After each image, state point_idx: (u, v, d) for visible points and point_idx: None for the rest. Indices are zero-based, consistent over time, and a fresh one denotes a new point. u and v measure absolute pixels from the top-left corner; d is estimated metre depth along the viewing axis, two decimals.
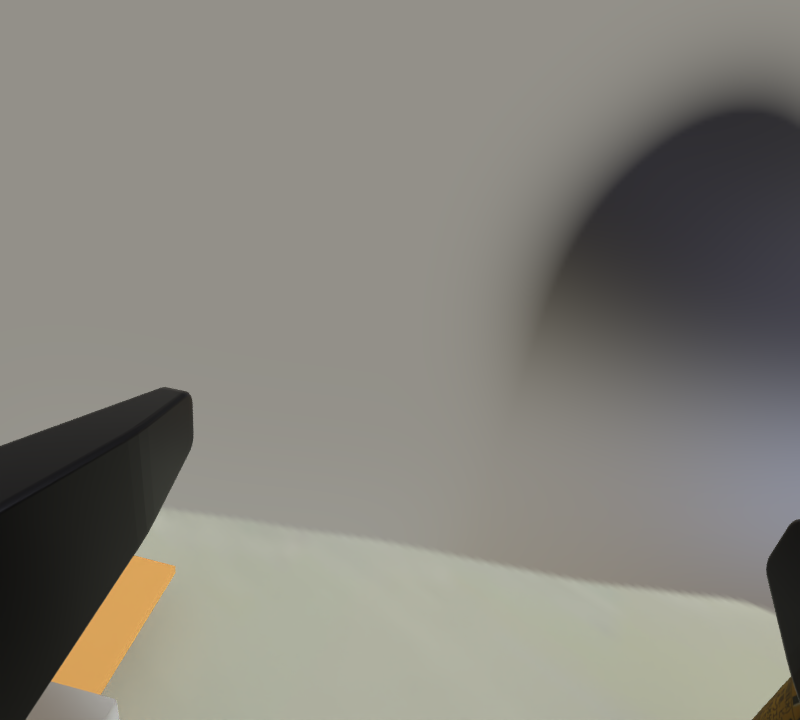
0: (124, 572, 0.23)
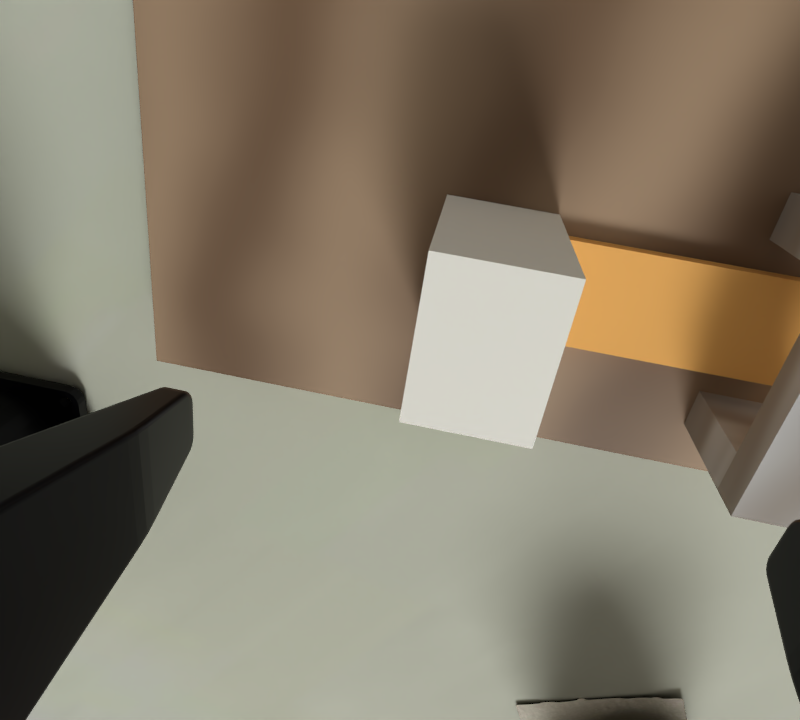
0: None
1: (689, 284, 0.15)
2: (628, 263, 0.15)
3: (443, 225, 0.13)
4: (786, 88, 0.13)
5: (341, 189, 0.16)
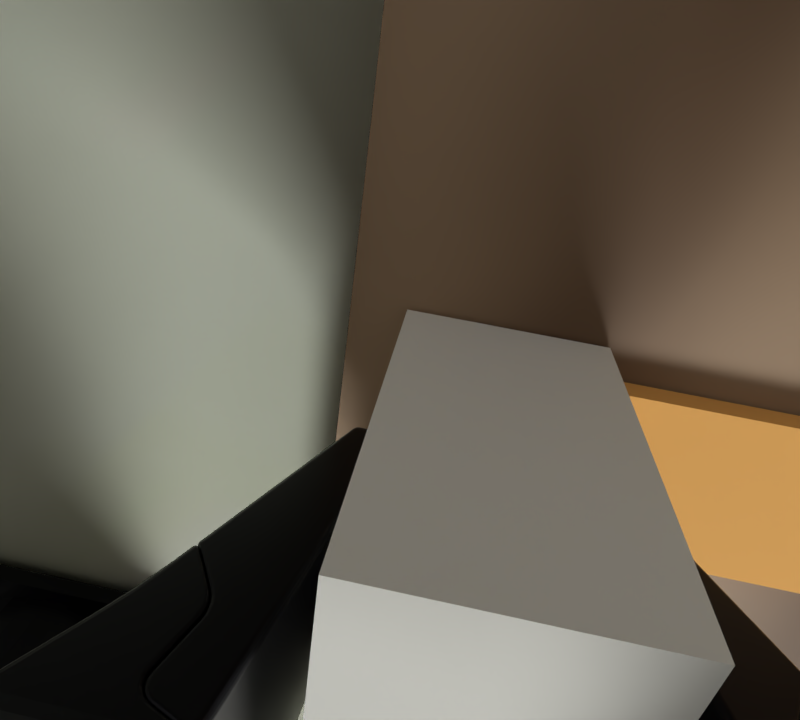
0: None
1: None
2: (734, 437, 0.08)
3: (381, 430, 0.06)
4: None
5: (723, 391, 0.09)
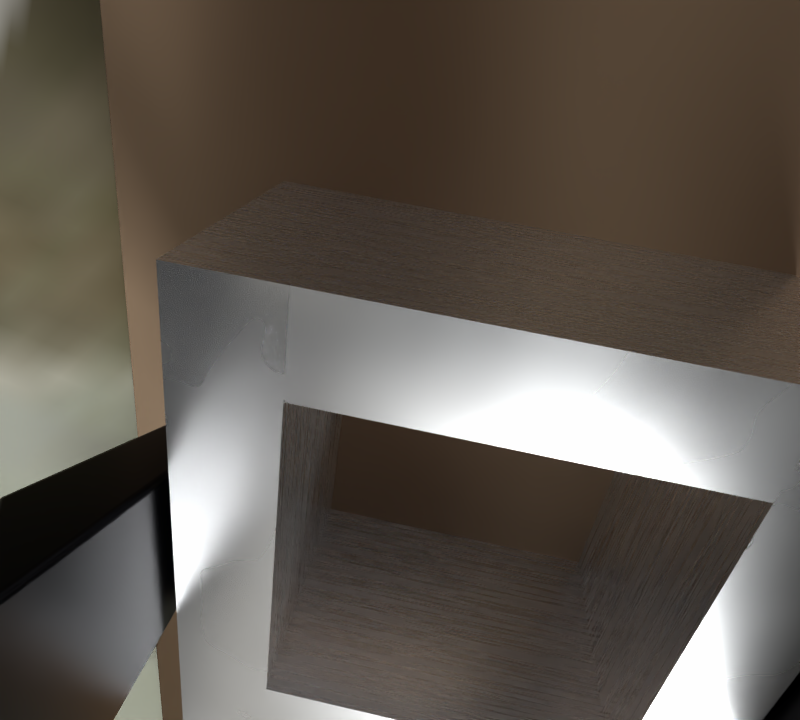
0: None
1: None
2: None
3: None
4: None
5: None
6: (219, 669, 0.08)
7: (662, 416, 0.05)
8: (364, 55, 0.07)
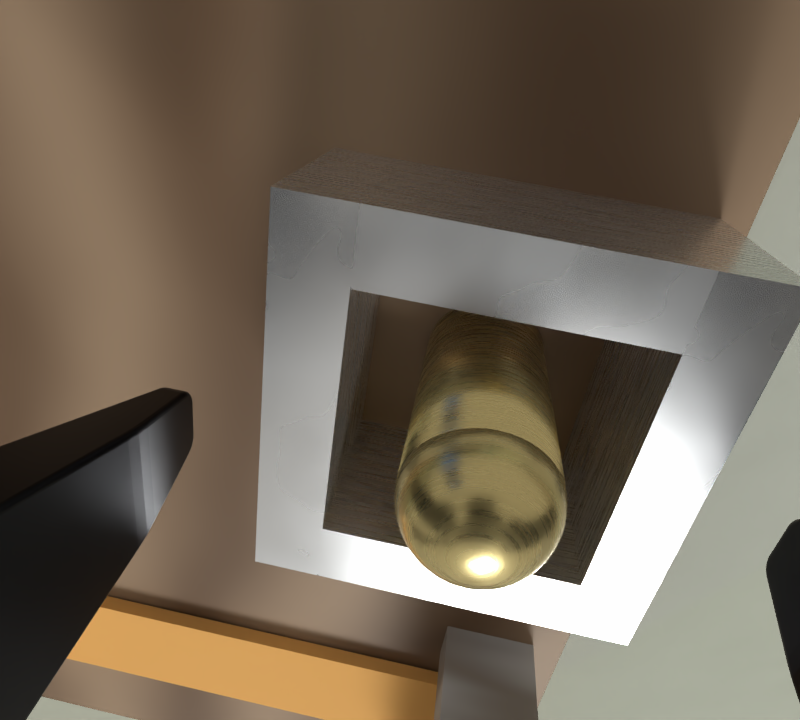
0: None
1: (125, 625, 0.18)
2: None
3: None
4: None
5: None
6: (287, 512, 0.10)
7: (606, 291, 0.08)
8: None
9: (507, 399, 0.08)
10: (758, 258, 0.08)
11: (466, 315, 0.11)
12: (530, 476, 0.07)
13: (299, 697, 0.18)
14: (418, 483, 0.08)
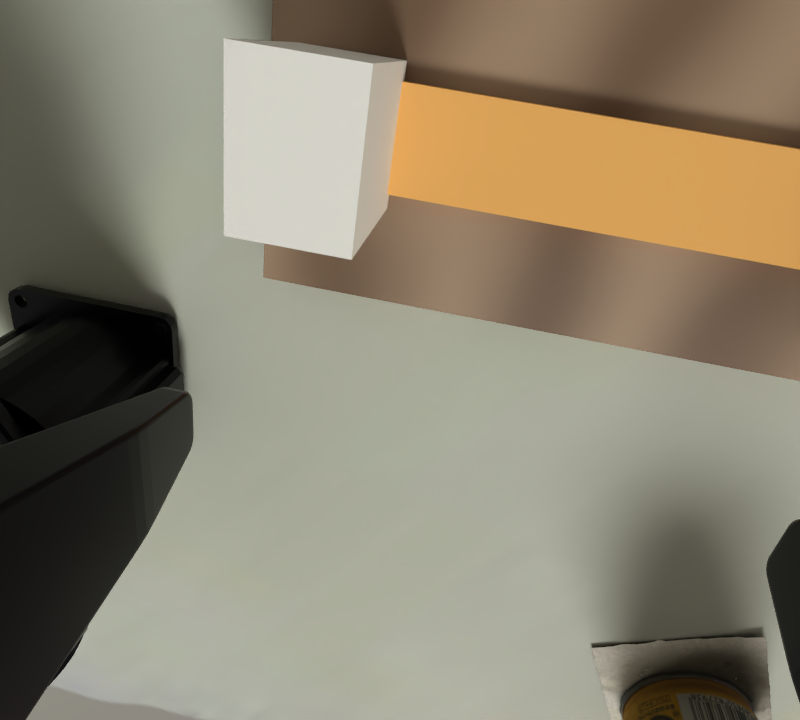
0: None
1: (533, 128, 0.16)
2: (472, 108, 0.16)
3: (264, 41, 0.13)
4: None
5: (473, 87, 0.16)
6: None
7: None
8: None
9: None
10: None
11: None
12: None
13: (717, 222, 0.16)
14: None
